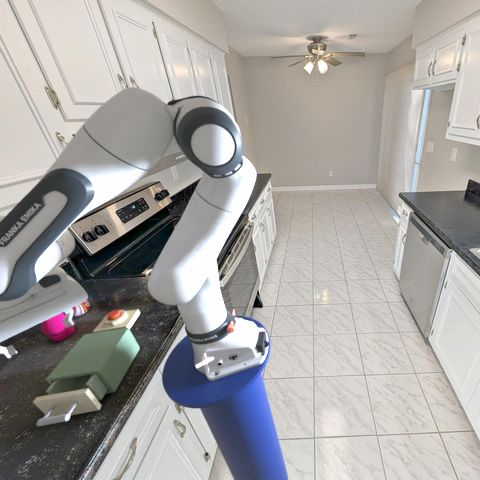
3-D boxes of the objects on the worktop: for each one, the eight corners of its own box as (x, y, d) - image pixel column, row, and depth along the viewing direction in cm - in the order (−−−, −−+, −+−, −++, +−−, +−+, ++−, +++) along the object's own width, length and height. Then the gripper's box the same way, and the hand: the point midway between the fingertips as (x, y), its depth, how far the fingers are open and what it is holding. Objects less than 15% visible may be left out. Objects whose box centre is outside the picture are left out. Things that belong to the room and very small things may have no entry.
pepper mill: (50, 335, 91) (15, 290, 82) (76, 323, 95) (46, 280, 86) (50, 346, 86) (14, 300, 77) (77, 333, 91) (46, 289, 81)
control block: (140, 313, 98) (136, 305, 96) (128, 331, 90) (124, 322, 88) (110, 317, 97) (105, 309, 95) (95, 336, 89) (90, 327, 87)
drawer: (88, 429, 61) (72, 411, 58) (35, 439, 60) (15, 421, 56) (126, 363, 77) (116, 346, 73) (85, 370, 76) (72, 353, 72)
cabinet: (114, 392, 70) (99, 370, 66) (64, 401, 68) (45, 379, 64) (140, 348, 83) (128, 327, 79) (98, 355, 82) (84, 334, 77)
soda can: (89, 313, 100) (74, 289, 94) (66, 321, 97) (49, 296, 91) (93, 303, 105) (79, 280, 100) (71, 310, 102) (55, 286, 97)
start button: (122, 312, 94) (120, 309, 93) (117, 319, 90) (115, 316, 90) (112, 314, 93) (110, 310, 92) (106, 321, 90) (104, 317, 89)
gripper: (-86, 331, 41) (-28, 384, 47) (74, 269, 56) (101, 316, 62) (-86, 316, 44) (-32, 369, 50) (64, 261, 59) (92, 307, 65)
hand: (43, 339), depth 56 cm, fingers open, 8 cm apart
